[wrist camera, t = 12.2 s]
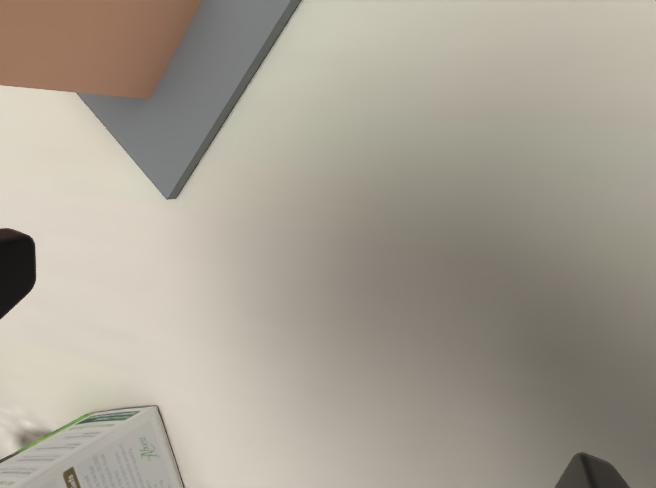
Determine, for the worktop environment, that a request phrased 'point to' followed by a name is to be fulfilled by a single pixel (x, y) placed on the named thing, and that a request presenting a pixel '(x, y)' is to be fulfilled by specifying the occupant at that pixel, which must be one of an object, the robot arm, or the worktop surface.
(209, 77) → the rubber mat
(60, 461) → the syrup box
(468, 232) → the worktop surface
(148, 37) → the salmon pink pillar
